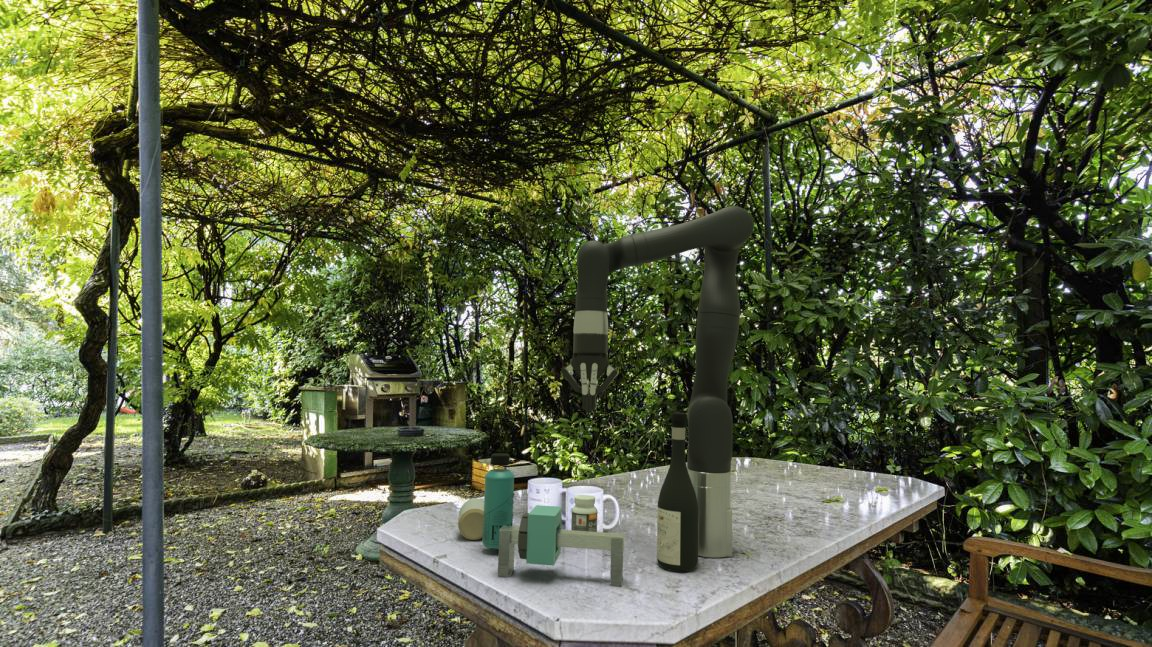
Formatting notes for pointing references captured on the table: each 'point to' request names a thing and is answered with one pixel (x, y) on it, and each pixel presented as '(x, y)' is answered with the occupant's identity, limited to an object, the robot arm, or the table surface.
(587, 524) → the pill bottle
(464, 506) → the beige cylinder
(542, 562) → the sleeve
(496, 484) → the beverage bottle
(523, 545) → the o ring
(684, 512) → the wine bottle
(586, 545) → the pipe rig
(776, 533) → the table surface
